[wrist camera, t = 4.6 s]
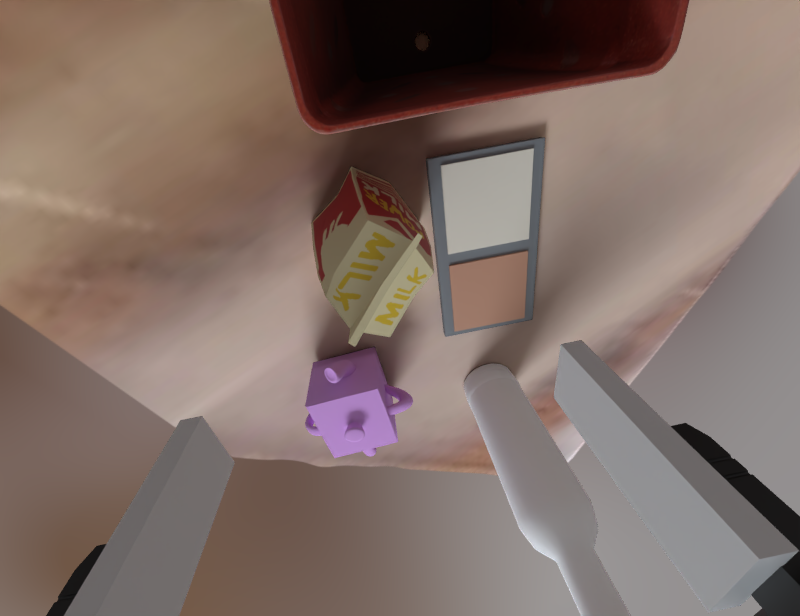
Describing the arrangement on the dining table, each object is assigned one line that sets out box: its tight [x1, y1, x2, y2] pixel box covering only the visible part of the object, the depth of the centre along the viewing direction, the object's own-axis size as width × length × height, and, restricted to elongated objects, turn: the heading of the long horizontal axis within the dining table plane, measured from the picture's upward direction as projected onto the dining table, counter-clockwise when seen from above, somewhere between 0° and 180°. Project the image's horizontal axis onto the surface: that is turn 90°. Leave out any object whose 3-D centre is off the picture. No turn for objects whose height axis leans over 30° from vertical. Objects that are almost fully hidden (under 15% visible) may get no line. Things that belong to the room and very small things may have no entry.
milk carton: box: [311, 167, 434, 347], centre depth 26 cm, size 9×9×20 cm
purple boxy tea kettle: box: [305, 347, 413, 458], centre depth 41 cm, size 18×14×10 cm
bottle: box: [464, 363, 631, 616], centre depth 36 cm, size 8×8×30 cm
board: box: [426, 137, 545, 337], centre depth 38 cm, size 22×12×1 cm, turn 9°
